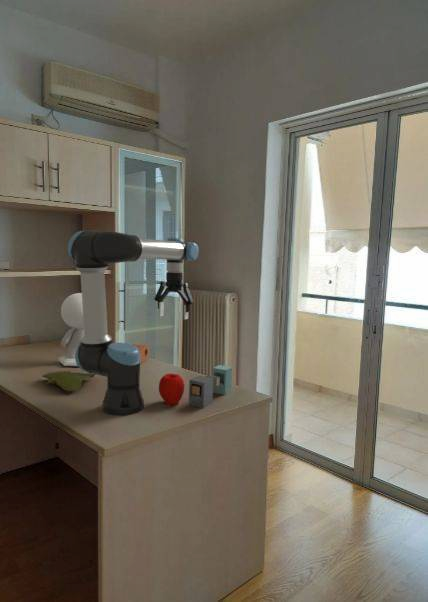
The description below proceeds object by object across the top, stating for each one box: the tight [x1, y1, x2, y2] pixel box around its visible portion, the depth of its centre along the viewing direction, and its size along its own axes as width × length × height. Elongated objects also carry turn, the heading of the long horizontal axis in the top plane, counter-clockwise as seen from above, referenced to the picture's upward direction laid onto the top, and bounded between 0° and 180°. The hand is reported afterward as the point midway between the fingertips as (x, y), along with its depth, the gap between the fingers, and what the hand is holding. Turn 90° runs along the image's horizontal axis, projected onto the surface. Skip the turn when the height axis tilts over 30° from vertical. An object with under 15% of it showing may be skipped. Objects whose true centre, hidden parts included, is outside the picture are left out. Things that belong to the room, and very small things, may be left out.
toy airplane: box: [41, 370, 96, 392], centre depth 192 cm, size 28×22×5 cm
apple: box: [158, 373, 185, 406], centre depth 170 cm, size 10×10×12 cm
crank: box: [131, 343, 150, 364], centre depth 231 cm, size 20×8×8 cm, turn 167°
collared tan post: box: [192, 375, 220, 395], centre depth 173 cm, size 16×5×5 cm, turn 151°
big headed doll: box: [57, 292, 84, 367], centre depth 227 cm, size 20×23×35 cm
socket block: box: [212, 364, 233, 396], centre depth 185 cm, size 6×6×11 cm
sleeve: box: [188, 375, 214, 409], centre depth 170 cm, size 7×6×10 cm
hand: (173, 317), depth 207 cm, fingers open, 13 cm apart
